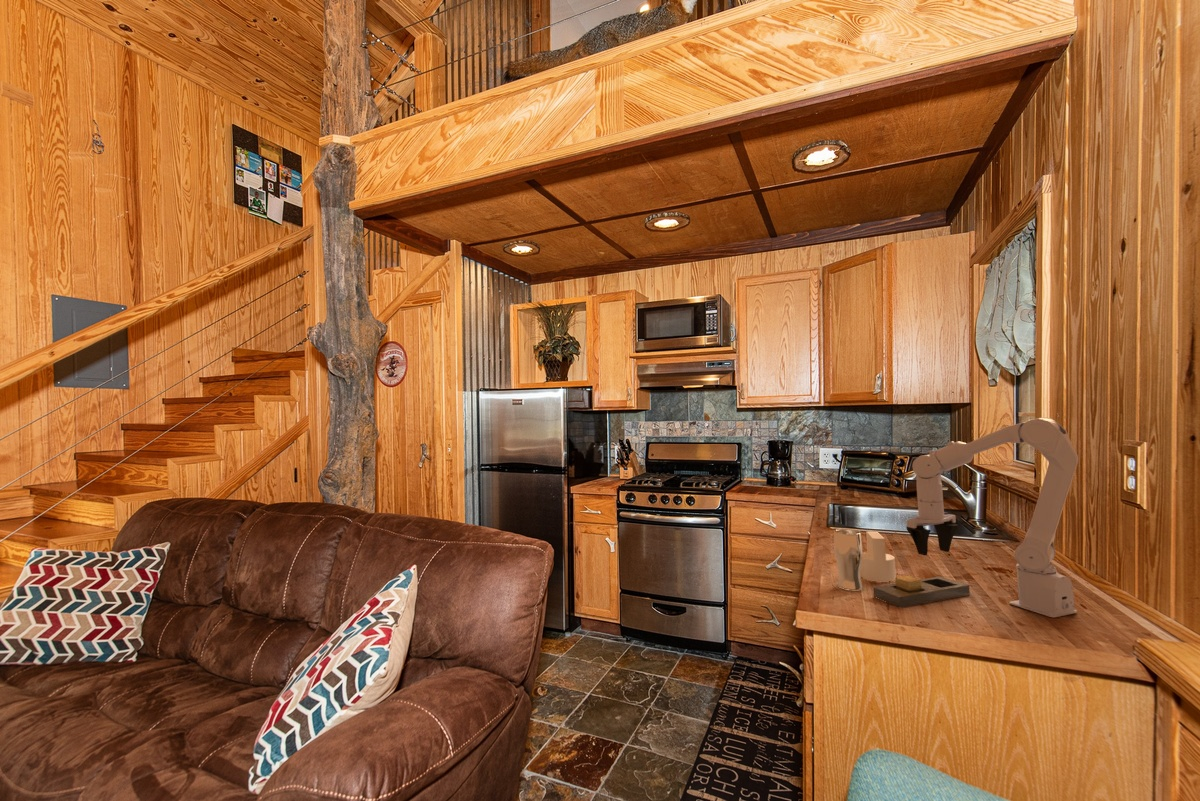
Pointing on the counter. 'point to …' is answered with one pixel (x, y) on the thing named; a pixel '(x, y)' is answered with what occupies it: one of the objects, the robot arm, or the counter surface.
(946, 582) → the grey slotted board
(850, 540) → the beer glass
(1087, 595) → the counter surface
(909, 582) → the golden brown block
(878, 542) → the cylinder with rectangular tab
